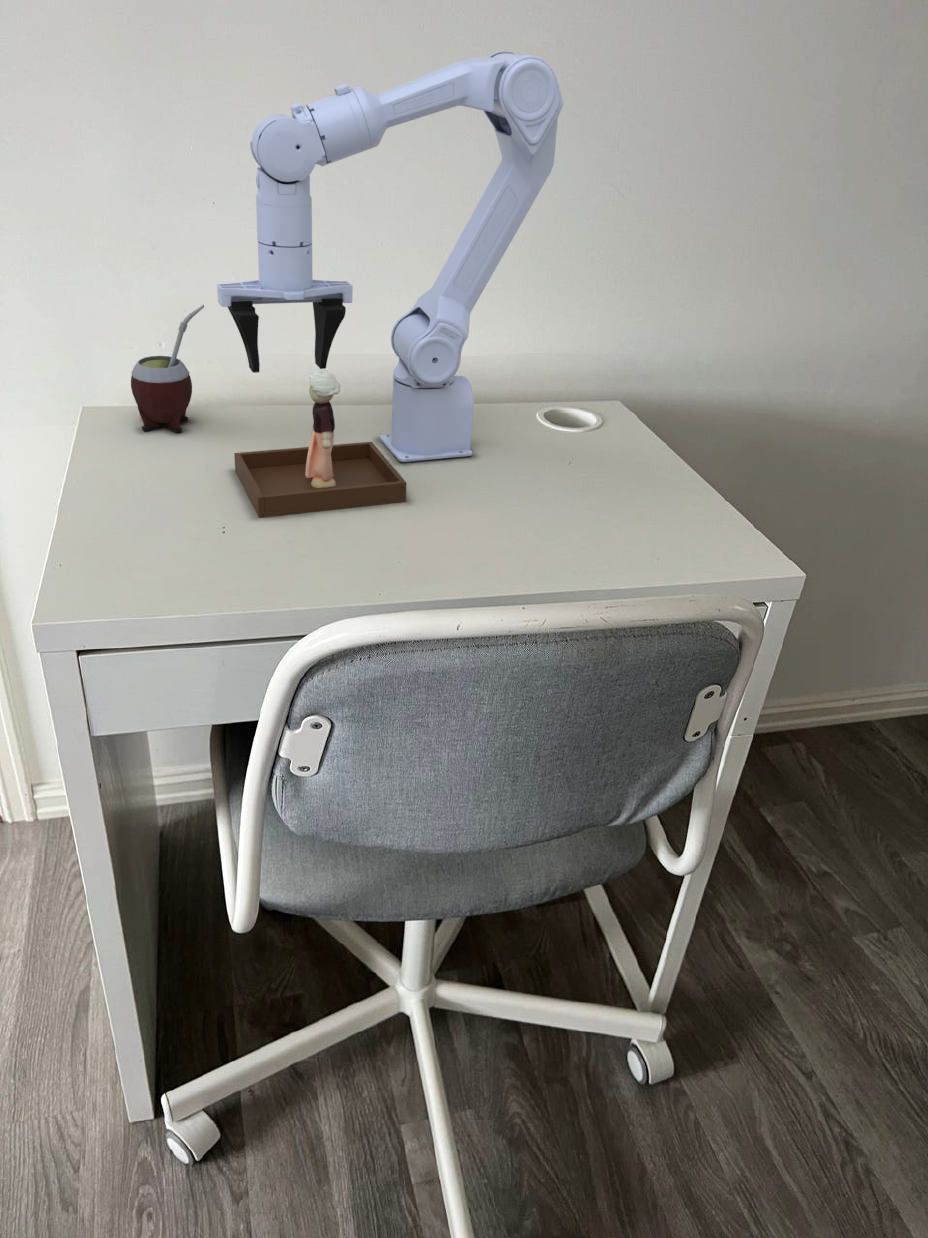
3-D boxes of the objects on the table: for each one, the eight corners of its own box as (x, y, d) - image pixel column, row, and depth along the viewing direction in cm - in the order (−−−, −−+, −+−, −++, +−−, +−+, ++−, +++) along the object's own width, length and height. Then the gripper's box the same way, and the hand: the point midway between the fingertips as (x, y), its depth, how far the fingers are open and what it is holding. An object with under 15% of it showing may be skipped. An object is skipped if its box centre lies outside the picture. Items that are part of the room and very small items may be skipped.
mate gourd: (124, 423, 120) (110, 299, 112) (179, 410, 125) (169, 290, 117) (158, 441, 116) (146, 314, 108) (214, 427, 121) (206, 304, 113)
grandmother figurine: (297, 469, 111) (295, 359, 104) (330, 467, 112) (330, 358, 105) (314, 497, 105) (312, 383, 98) (348, 494, 106) (349, 381, 99)
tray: (371, 459, 116) (371, 441, 115) (405, 501, 107) (406, 482, 106) (235, 471, 110) (234, 452, 109) (258, 517, 101) (258, 497, 100)
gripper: (224, 250, 97) (231, 382, 105) (362, 249, 103) (359, 375, 110) (210, 236, 103) (218, 362, 110) (342, 235, 108) (341, 356, 115)
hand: (287, 367), depth 110 cm, fingers open, 7 cm apart
